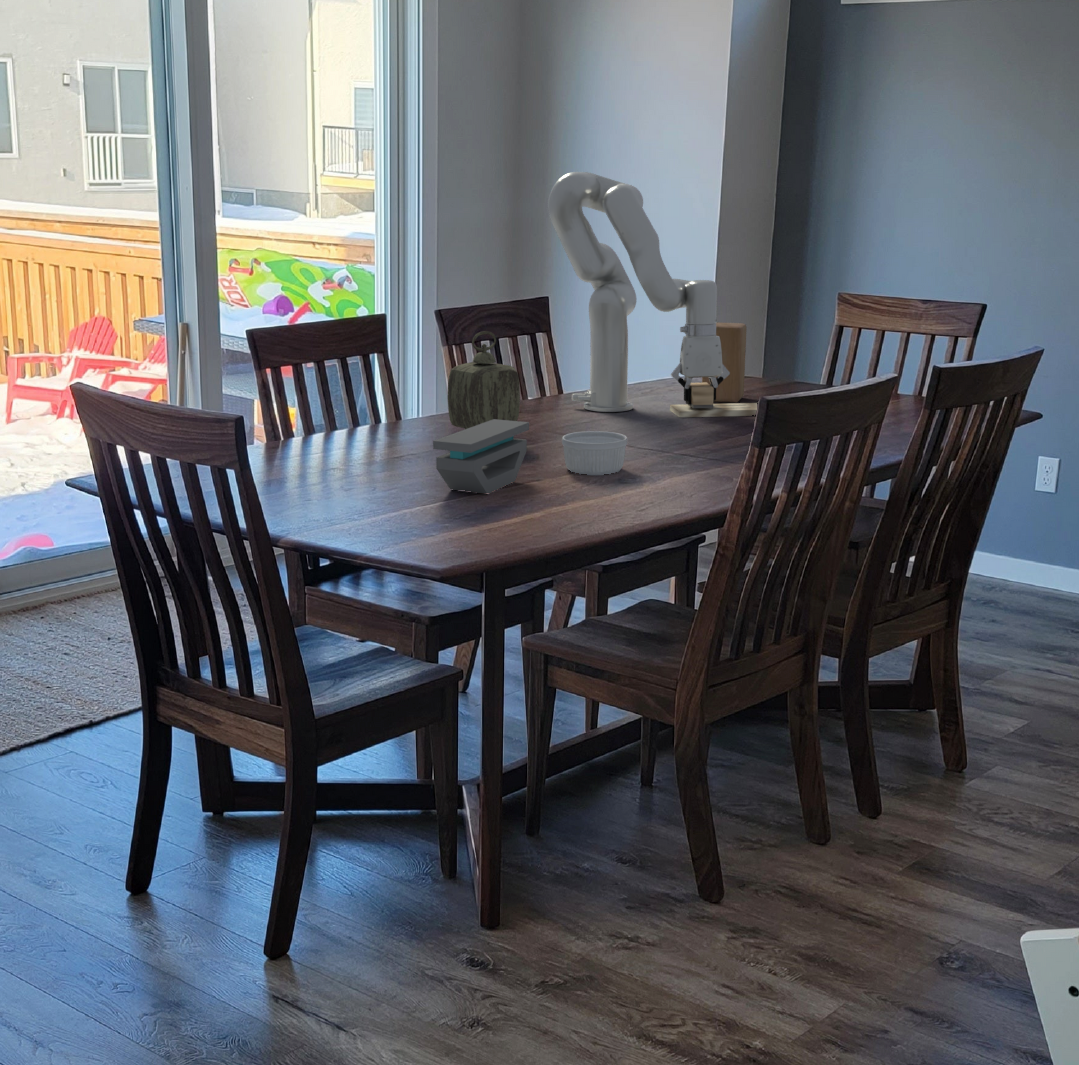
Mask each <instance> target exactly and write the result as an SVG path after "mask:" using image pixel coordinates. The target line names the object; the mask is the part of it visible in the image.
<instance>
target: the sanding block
mask: <svg viewBox="0 0 1079 1065" xmlns="http://www.w3.org/2000/svg"><path fill="white" fill-rule="evenodd" d="M690 389H691V405H690V406H691V407H692V408H713V397H714V388H713V387H712V386H711V385H709V384H708V383H707V382H703V383H702V382H691V384H690Z"/></svg>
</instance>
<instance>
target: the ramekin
mask: <svg viewBox="0 0 1079 1065" xmlns="http://www.w3.org/2000/svg"><path fill="white" fill-rule="evenodd" d="M561 444H562V445H563V456H564V462H565V467H566V469H568V470H570V471H571V472H570V471H569V472H570V473H572V472H575V473H574V474H576V473H579V474H578V475H581V474H587V475H586V476H605V475H604V474H609V475H612V474H611V473H614V474H616V473H615V472H617V473H619V472H620V471H621V469H622V468H623V466H624V462H625V457H626V456H625V455H626V446H627V444H628V437H627V436H626V435H625V434H622V433H618V432H613V431H605V430H604V431H602V430H600V431H599V430H594V431H593V430H591V431H590V430H588V431H587V430H586V431H575V432H571V433H566V434H564V435H563V436H562V437H561Z"/></svg>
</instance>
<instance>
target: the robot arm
mask: <svg viewBox="0 0 1079 1065" xmlns="http://www.w3.org/2000/svg"><path fill="white" fill-rule="evenodd" d="M643 206H644V198H643V195H642V192H641V191H640V190H639V189H638V188H637V187H635V186H634V185H632V184H628V183H626V182H621V181H617V180H615V179H613V178H612V179H611V178H608V177H605V176H602V175H598V174H596V173H592V172H589V171H586V172H585V171H573V172H572V171H571V172H567V173H566V174H565V173H564V175H562V176H561V177H559V178H558V180H556V182H555V183H554V185H553V186H552V188H551V191H550V193H549V196H548V201H547V210H548V216H549V220H550V222H551V224H552V227H553V229H554V230H555V233H556V235H557V237H558V239H559V241H560V243H561V245H562V247H563V248H562V249H563V250H564V252H565V254H566V256H567V258H568V260H569V261H570V264H571V266H572V268H573V271H574V272H575V275H576V276H577V277H578V279H580V280H581V281H583V282H584V283H590V284H591V286H592V288H593V292H592V294H591V295H590V298H589V302H588V317H589V329H590V330H589V331H590V333H589V334H590V343H589V344H590V354H589V355H590V356H589V357H590V360H589V362H590V365H589V366H590V368H589V378H590V380H589V389H586V391H583V393H571V401H572V402H583V409H585V410H588V411H593V412H600V413H615V412H616V413H619V412H626V411H627V412H628V411H630V410H632V409H634V404H633V402H630V401H628V373H629V372H628V370H629V369H628V368H629V367H628V366H629V327H628V316H629V315H631V314H632V312H633V311H634V310H635V308H636V305H637V292H636V290H635V287H634V286H633V284H632V282H631V279H630V278H629V276H628V274H627V272H626V270H625V268H624V266H623V263H622V262H621V260H620V257H619V256H618V254H617V253H616V252H615V250H614V249H613V247H611V246H609V245H608V244H606V243H603V242H599V240H598V238H597V235H596V234H595V232H594V230H593V228H592V225H591V224H590V221H589V220H588V219H587V217H586V216H585V214H584V212H583V207H584V208H588V209H591V210H595V211H598V212H601V213H605V214H606V217H607V218H608V221H609V222H610V224H611V225H612V227H613V228H614V229H613V230H614V231H615V232H616V234H617V236H618V238H619V239H620V241H621V243H622V245H623V247H624V248H625V250H626V252H627V254H628V256H629V261H630V263H631V265H632V268H633V271H634V274H635V275H636V278H637V280H638V282H639V285H640V286H641V288H642V289H643V292H645V295H646V296H647V299H649V302H650V303H651V304H652V306H654V308H655V309H657V310H658V311H660V312H664V313H669V312H673V311H675V310H679V309H683V308H685V323H684V325H683V326H680V327H679V332H680V333H684V334H685V335H684V336H682V340H681V341H682V342H681V346H680V354H679V363H678V364H677V366H676V367H675V368H674V369H673V371H671V373H670V376H671V377H672V378H673V379H674V380H675V381H677V382H678V383H679V385H681V386H682V387H683V401H684V402H685V404H688V405H691V389H690V384H691V383H692V380H693V378H694V379H695V378H696V379H697V378H702V377H709V381H710V385H711V386H712V387H713V388H714V397H713V404H715V402H714V400H716V388H717V387H718V385H719V384H720V383H721V382H722V381H723V380H724V379H725V378H726V377H727V376H728V375H729V374H730V372H729V371H728V370H727V369H726V367H725V366H724V365H723V364H722V351H721V342H720V337H719V336H716V322H717V316H718V314H717V312H718V311H717V307H718V305H717V304H718V303H717V302H718V286H717V283H716V281H713V280H710V279H696V280H695V279H694V280H688V279H687V280H686V279H680V278H673V277H672V276H671V274H670V272H669V271H668V269H667V267H666V265H665V263H664V260H663V257H662V255H661V254H662V253H661V249H660V238H659V235H658V233H657V230H656V229H655V228H654V226H653V225H652V222H651V221H650V218H649V217H648V215H647V213H646V212H645V210H644V208H643ZM679 374H680V375H682V376H683V377H684V379H683V378H682V377H681V376H680V375H679ZM717 376H718V377H717ZM716 377H717V378H716Z"/></svg>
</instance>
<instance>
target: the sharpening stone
mask: <svg viewBox="0 0 1079 1065" xmlns="http://www.w3.org/2000/svg"><path fill="white" fill-rule="evenodd" d="M529 430H530V422H529V421H518V420H517V421H509V420H497V419H493V420H490V421H487V422H484V423H482V424H479V425H476V426H473V427H470V428H468V429H465V428H464V429H462V430H460V431H457V432H454V433H451V434H449V435H445V436H443V437H440V438H437V439H435V440H432V449H433V450H439V451H447V453H444V454H442V455H439V456H437V457H436V458H435V460H436V462H435V463H436V464H435V465H436V466H435V467H436V470H437V472H438V473H439V475H440V476H441V478H442V480H444V483H445V484H446V485H447V487H448V488H449V490H450V489H453V490H465V491H471V492H477V493H491V492H492V491H494V490H497V489H499V488H501V487H503V486H505V485H508V484H510V483H511V482H514V481H516V479H517V476H518V474H519V472H520V469H521V468H522V467H521V466H522V464H523V462H524V458H525V456H526V454H527V450H528V449H527V448H528V446H527V445H528V442H527V441H528V440H527V439H526V438H525V439H522V438H515V436H517V435H519V434H522V433H524V432H527V431H529ZM514 483H515V482H514ZM510 485H511V484H510ZM508 486H509V485H508ZM501 489H502V488H501ZM499 490H500V489H499ZM497 491H498V490H497ZM477 493H476V494H477ZM491 494H492V493H491Z"/></svg>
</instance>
